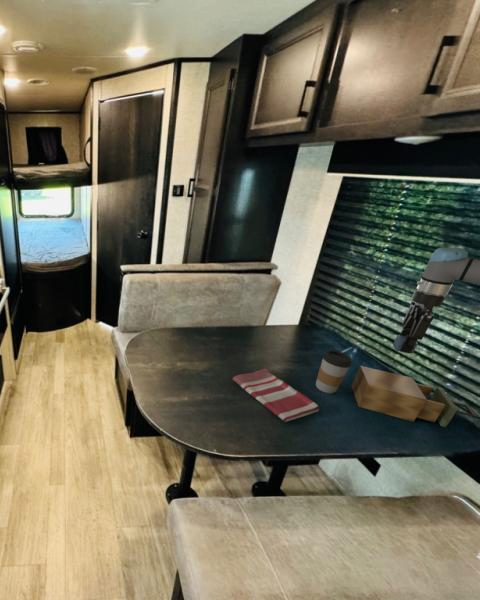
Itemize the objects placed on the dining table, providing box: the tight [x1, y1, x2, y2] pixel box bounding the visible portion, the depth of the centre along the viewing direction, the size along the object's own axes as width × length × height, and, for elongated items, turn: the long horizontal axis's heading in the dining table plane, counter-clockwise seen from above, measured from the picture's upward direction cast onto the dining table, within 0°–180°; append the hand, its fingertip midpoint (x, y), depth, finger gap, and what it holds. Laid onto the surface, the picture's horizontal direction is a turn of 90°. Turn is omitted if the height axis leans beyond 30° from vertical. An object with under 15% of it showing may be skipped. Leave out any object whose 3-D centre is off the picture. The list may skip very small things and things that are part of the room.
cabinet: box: [351, 365, 428, 422], centre depth 111 cm, size 15×13×10 cm
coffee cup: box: [315, 349, 353, 394], centre depth 117 cm, size 8×8×15 cm
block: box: [392, 334, 419, 355], centre depth 118 cm, size 5×5×5 cm
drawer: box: [416, 383, 479, 428], centre depth 106 cm, size 20×11×8 cm, turn 61°
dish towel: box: [232, 367, 320, 423], centre depth 116 cm, size 17×23×3 cm
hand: (402, 348), depth 119 cm, fingers closed on block, 5 cm apart
